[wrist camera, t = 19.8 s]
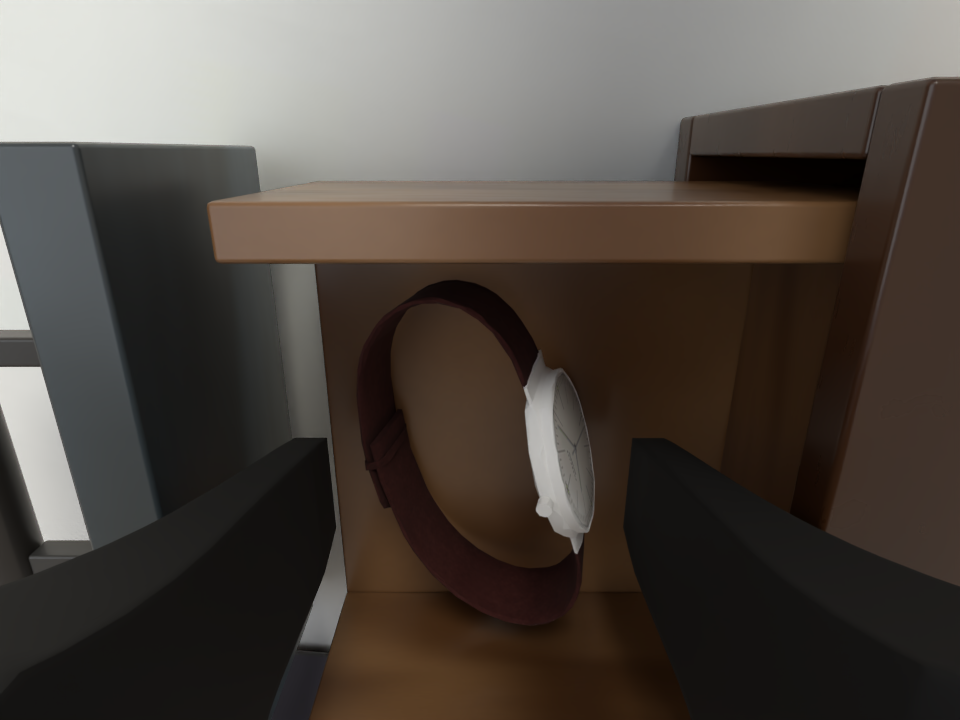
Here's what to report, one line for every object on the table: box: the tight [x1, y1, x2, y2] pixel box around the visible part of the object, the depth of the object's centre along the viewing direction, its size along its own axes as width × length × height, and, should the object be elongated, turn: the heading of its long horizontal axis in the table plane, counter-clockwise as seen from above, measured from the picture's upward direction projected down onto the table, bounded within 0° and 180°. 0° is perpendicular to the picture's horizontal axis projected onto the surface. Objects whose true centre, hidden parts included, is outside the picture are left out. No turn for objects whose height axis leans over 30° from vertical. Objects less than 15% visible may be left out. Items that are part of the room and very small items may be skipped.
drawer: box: [0, 142, 860, 720], centre depth 12 cm, size 18×12×6 cm
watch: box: [356, 280, 595, 626], centre depth 12 cm, size 8×5×4 cm, turn 18°
